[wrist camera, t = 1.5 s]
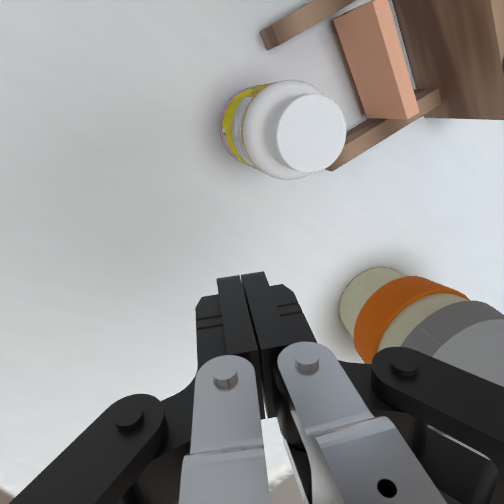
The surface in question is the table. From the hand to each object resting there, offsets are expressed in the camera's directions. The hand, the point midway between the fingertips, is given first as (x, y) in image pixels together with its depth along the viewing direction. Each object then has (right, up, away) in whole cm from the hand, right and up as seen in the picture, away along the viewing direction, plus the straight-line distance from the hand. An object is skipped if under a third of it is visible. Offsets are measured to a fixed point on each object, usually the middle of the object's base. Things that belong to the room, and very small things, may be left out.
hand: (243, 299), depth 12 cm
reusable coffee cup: (+15, -4, +34) cm, 37 cm away
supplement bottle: (0, +13, +23) cm, 26 cm away
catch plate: (+10, +18, +22) cm, 30 cm away
